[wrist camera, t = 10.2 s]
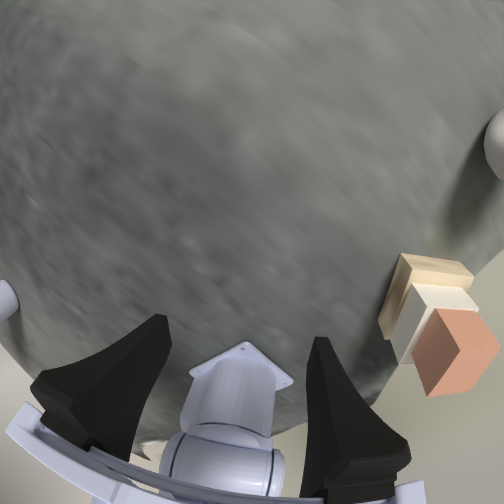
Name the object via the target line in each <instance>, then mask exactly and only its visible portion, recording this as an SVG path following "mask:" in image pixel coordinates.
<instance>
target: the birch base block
mask: <svg viewBox="0 0 504 504" xmlns="http://www.w3.org/2000/svg"><path fill="white" fill-rule="evenodd" d="M473 279H474V276H473V275H472V274H471V273H470V272H469V271H468V270H467V269H466V268H465V267H464V266H463V265H462V264H461V263H460V262H456V261H450V260H443V259H437V258H430V257H424V256H417V255H410V254H403V253H400V256H399V260H398V263H397V266H396V269H395V273H394V276H393V279H392V282H391V285H390V288H389V290H388V293H387V296H386V299H385V302H384V304H383V307H382V310H381V312H380V315H379V317H378V323H379V325H380V328H381V331H382V334H383V337H384V340H390V335H391V333H392V331H393V329H394V326H395V324H396V322H397V320H398V317H399V315H400V313H401V310H402V308H403V305H404V303H405V300H406V298H407V295H408V292H409V290H410V287H411V284H412V283H416V284H426V285H437V286H447V287H458V288H463V290H464V291H465V292H466V293H468V291H469V288H470V286H471V284H472V281H473Z"/></svg>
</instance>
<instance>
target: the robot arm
mask: <svg viewBox="0 0 504 504" xmlns="http://www.w3.org/2000/svg"><path fill="white" fill-rule="evenodd" d="M171 346H172V342H171V337H170V331H169V326H168V320H167V316H165V315H160V314H155V315H153V316H152V317H151V318H149V319H148V320H147V321H145V322H144V323H143V324H141V325H140V326H139V327H137V328H136V329H134V330H133V331H132V332H130V333H129V334H128V335H126V336H125V337H123V338H122V339H120V340H119V341H117V342H115V343H114V344H112V345H111V346H109V347H107V348H106V349H104V350H102V351H100V352H98V353H96V354H94V355H92V356H90V357H87V358H85V359H83V360H80V361H78V362H75V363H72V364H69V365H66V366H62V367H59V368H54V369H49V370H44V371H42V372H41V373H40V374H39V375H38V377H37V378H36V379H35V381H34V382H33V383H32V385H31V386H30V390H31V392H32V394H33V395H34V397H35V398H36V399H37V400H38V402H39V403H40V404H41V406H42V407H43V408H44V409H45V410H46V411H45V412H44V414H42V413H41V412H40V411H39V410H38V409H36V408H35V407H34V406H32V405H31V404H29V403H28V402H26V401H25V403H24V404H23V405H22V407H21V408H20V410H19V411H18V413H17V414H16V416H15V417H14V419H13V420H12V422H11V423H10V425H9V426H8V428H7V429H6V433H7V434H8V435H9V436H10V437H11V438H12V439H13V440H14V441H15V442H17V443H18V444H19V445H20V446H21V447H23V448H24V449H25V450H26V451H27V452H28V453H30V454H31V455H32V456H34V457H35V458H36V459H37V460H39V461H40V462H41V463H43V464H44V465H45V466H47V467H48V468H50V469H51V470H52V471H54V472H55V473H57V474H58V475H60V476H61V477H63V478H64V479H66V480H67V481H69V482H71V483H72V484H74V485H75V486H77V487H79V488H81V489H82V490H84V491H86V492H87V493H89V494H91V495H93V496H94V497H93V500H92V502H91V504H426V498H425V490H424V483H423V480H417V481H414V482H409V483H405V484H401V485H398V486H394V481H396V480H397V474H396V473H397V472H399V471H400V470H401V469H403V468H404V467H406V466H407V465H408V464H409V463H410V461H411V453H410V449H409V445H408V442H407V440H406V439H404V438H403V437H402V436H400V435H399V434H398V433H396V432H395V431H394V430H392V429H391V428H390V427H389V426H388V425H387V424H386V423H385V422H383V421H382V419H381V418H380V417H379V416H378V415H377V414H376V413H375V412H374V411H373V410H372V409H371V408H370V407H369V405H368V404H367V403H366V402H365V401H364V399H363V398H362V397H361V395H360V394H359V393H358V391H357V390H356V388H355V387H354V385H353V384H352V382H351V381H350V379H349V377H348V376H347V374H346V372H345V371H344V369H343V367H342V365H341V363H340V361H339V359H338V357H337V355H336V353H335V351H334V349H333V347H332V345H331V342H330V340H329V338H328V337H315V338H314V342H313V346H312V349H311V353H310V356H309V360H308V363H307V374H306V392H307V410H308V436H307V447H306V457H305V465H304V472H303V479H302V485H301V491H300V496H299V498H287V497H280V494H281V490H282V486H283V481H284V474H285V458H284V456H283V455H282V453H281V452H280V450H278V449H272V445H273V439H270V435H271V427H272V419H273V410H274V401H275V392H276V391H277V390H280V389H282V388H284V387H287V386H289V385H291V384H293V379H292V378H291V377H289V376H288V375H287V374H286V373H285V372H283V371H282V370H281V369H280V368H279V367H277V366H276V365H275V364H274V363H273V362H271V361H270V360H269V359H268V358H267V357H266V356H264V355H263V354H262V353H261V352H260V351H259V350H258V349H256V348H255V347H254V346H253V345H252V344H251V343H249V342H242V343H241V344H239V345H237V346H235V347H233V348H231V349H230V350H228V351H226V352H224V353H222V354H220V355H218V356H216V357H214V358H212V359H210V360H208V361H206V362H205V363H203V364H201V365H199V366H197V367H195V368H193V369H191V370H190V371H189V374H190V375H191V376H193V377H194V380H193V383H192V385H191V388H190V390H189V393H188V396H187V398H186V401H185V403H184V406H183V409H182V411H181V414H180V426H181V430H182V431H179V432H177V433H176V434H174V435H173V436H171V438H170V439H169V440H168V442H167V444H166V446H165V449H164V451H163V454H162V458H161V462H160V468H159V474H158V473H155V472H152V471H149V470H146V469H143V468H141V467H138V466H135V465H133V464H130V463H128V462H129V458H130V453H131V449H132V444H133V440H134V437H135V433H136V429H137V426H138V423H139V420H140V417H141V414H142V411H143V408H144V405H145V403H146V400H147V398H148V395H149V393H150V391H151V389H152V388H153V386H154V384H155V382H156V380H157V378H158V376H159V374H160V372H161V370H162V368H163V367H164V365H165V363H166V360H167V358H168V355H169V352H170V349H171ZM243 348H244V349H243ZM117 473H118V474H117ZM119 474H120V475H119ZM121 475H123V476H125V477H127V478H130V479H132V480H135V481H137V482H140V483H143V484H145V485H148V486H151V487H154V488H157V489H159V494H157V493H154V492H151V491H148V490H144V489H142V488H139V487H138V486H136V485H135V484H133V483H132V481H131V480H129V479H127V478H125V477H123V476H121Z"/></svg>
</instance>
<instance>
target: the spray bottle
mask: <svg viewBox="0 0 504 504" xmlns="http://www.w3.org/2000/svg"><path fill="white" fill-rule="evenodd" d="M18 307H19V303H18V299H17V296H16V294H15V292H14V290H13V289H12V287H11V286H10V284H9V283H8V282H7V281H5V280H0V325H1V324H2V323H3V322H4V321H5V320H6V319H8V318H9V317H10V316H11V315H12V314H13V313H14V312H15V311H16V310H17V309H18Z"/></svg>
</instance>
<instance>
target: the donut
mask: <svg viewBox="0 0 504 504" xmlns="http://www.w3.org/2000/svg"><path fill="white" fill-rule="evenodd" d="M484 150H485V156H486V160H487V162H488V164H489V166H490V167H491V169H492V170H493V172H494V173H495V175H496V176H497V177H498V178H499V179H501V180H502V181H504V107H503V108H501V109H500V110H499V111H498V112H497V113H496V115H495V116H494V117H493V118H492V119H491V121H490V123H489V125H488V127H487V129H486V134H485V138H484Z"/></svg>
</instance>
